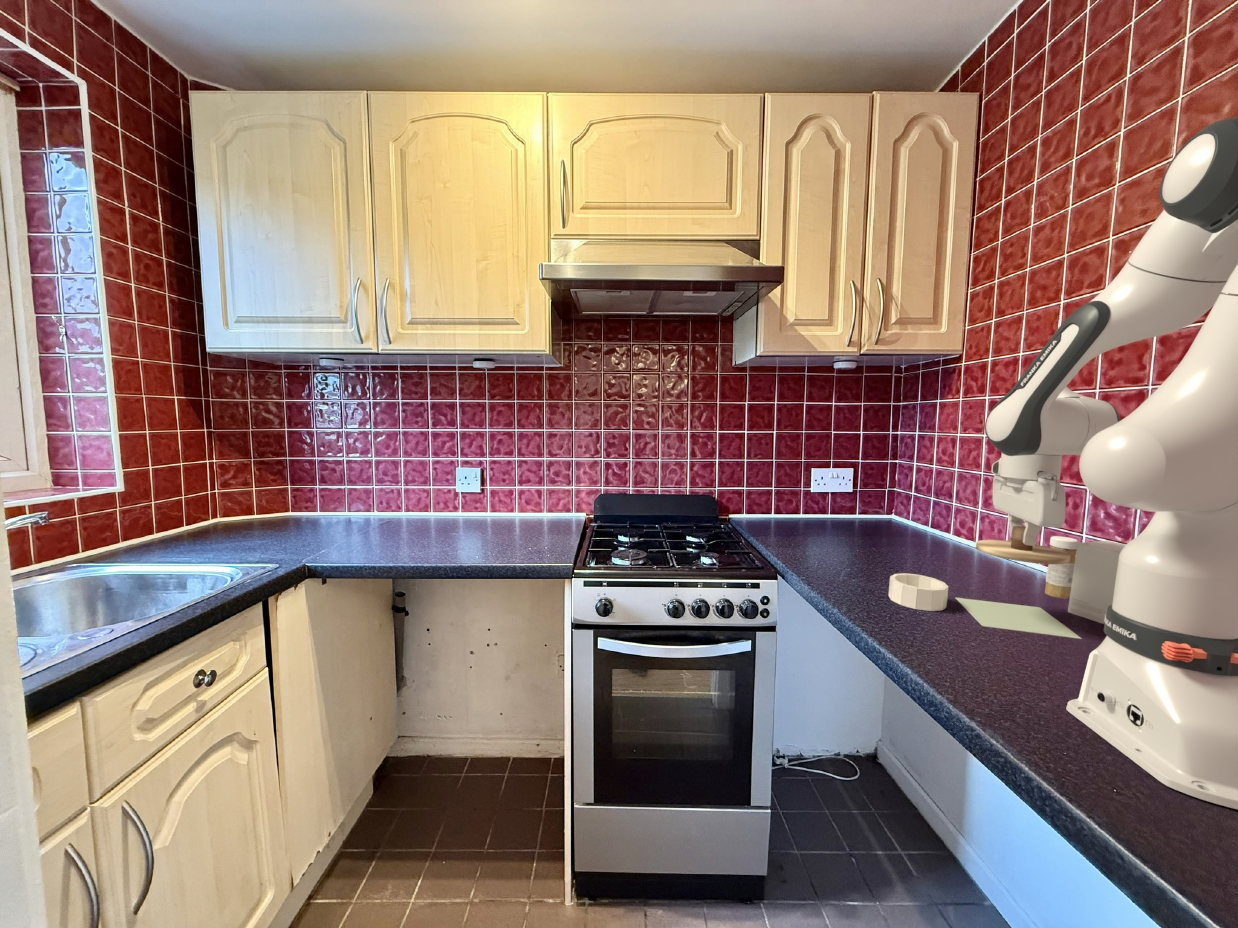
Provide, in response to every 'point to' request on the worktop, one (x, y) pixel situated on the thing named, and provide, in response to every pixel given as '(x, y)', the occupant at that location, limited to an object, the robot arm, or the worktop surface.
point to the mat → (1015, 617)
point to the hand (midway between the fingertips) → (1022, 541)
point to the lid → (1022, 550)
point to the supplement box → (1094, 579)
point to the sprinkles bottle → (1061, 568)
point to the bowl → (918, 592)
